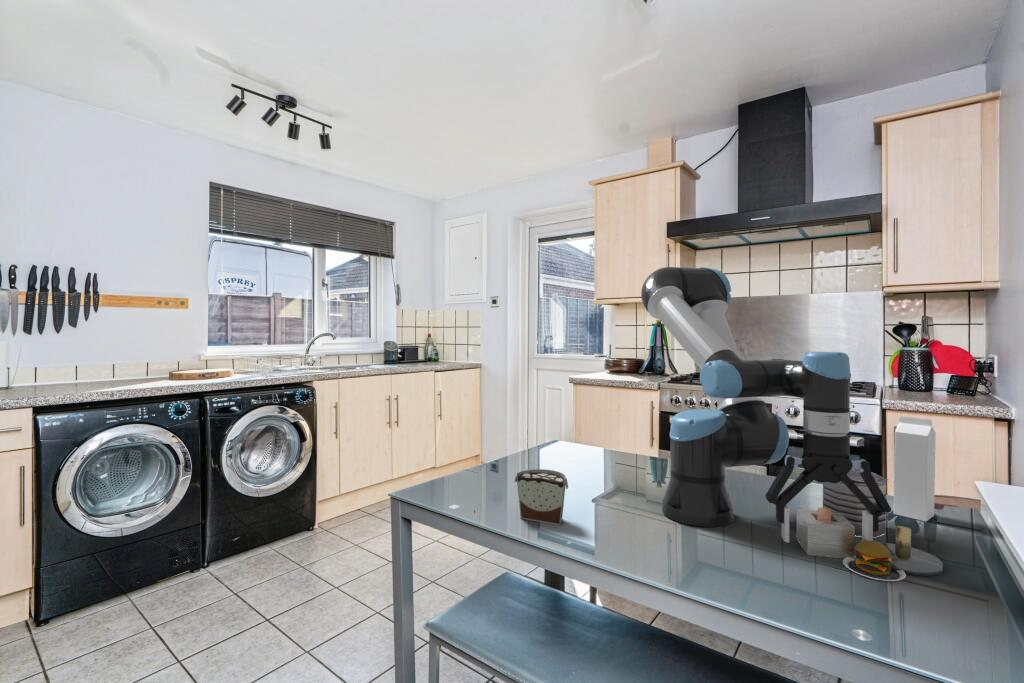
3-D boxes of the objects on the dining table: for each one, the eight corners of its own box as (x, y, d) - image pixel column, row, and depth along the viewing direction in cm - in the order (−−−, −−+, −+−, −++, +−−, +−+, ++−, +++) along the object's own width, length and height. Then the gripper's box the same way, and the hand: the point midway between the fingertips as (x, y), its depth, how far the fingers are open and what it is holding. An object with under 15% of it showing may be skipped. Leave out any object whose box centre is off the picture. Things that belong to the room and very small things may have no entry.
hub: (880, 571, 86) (880, 536, 86) (856, 544, 97) (856, 514, 97) (957, 579, 83) (957, 544, 83) (923, 551, 94) (924, 520, 94)
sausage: (819, 550, 95) (819, 510, 95) (815, 545, 97) (816, 507, 97) (832, 551, 94) (832, 512, 94) (828, 546, 96) (828, 508, 96)
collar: (807, 554, 93) (807, 522, 93) (796, 538, 100) (796, 508, 100) (854, 559, 91) (854, 527, 91) (839, 542, 98) (839, 512, 98)
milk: (926, 522, 109) (928, 421, 108) (892, 514, 113) (894, 417, 113) (934, 515, 112) (936, 418, 112) (901, 508, 117) (903, 414, 116)
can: (829, 513, 114) (829, 461, 114) (890, 527, 106) (891, 471, 105) (814, 527, 106) (815, 471, 106) (880, 543, 98) (881, 482, 97)
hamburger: (888, 598, 79) (888, 563, 79) (816, 565, 90) (817, 535, 90) (934, 583, 84) (934, 550, 83) (860, 553, 95) (861, 524, 95)
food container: (575, 516, 112) (575, 472, 112) (566, 526, 107) (566, 479, 106) (525, 508, 117) (525, 466, 117) (514, 517, 112) (514, 472, 112)
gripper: (757, 433, 95) (757, 544, 95) (913, 440, 88) (913, 560, 88) (750, 426, 102) (749, 529, 102) (894, 432, 95) (893, 543, 95)
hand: (825, 544), depth 95 cm, fingers open, 13 cm apart
